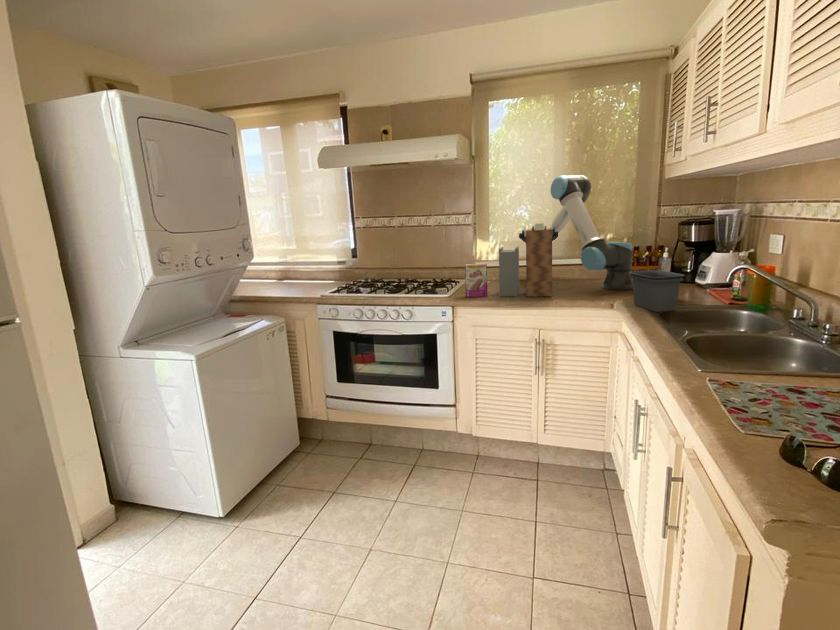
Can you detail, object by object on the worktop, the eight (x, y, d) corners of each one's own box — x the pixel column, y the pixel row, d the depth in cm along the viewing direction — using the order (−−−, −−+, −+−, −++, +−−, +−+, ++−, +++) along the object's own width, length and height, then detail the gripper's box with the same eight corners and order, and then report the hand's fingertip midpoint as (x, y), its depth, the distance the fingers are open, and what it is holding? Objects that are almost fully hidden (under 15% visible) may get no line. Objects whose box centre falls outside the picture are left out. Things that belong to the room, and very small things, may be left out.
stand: (551, 292, 232) (552, 225, 224) (551, 296, 220) (552, 226, 213) (527, 292, 235) (526, 226, 227) (526, 296, 224) (525, 227, 216)
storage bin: (624, 304, 196) (625, 270, 193) (658, 301, 197) (660, 268, 194) (653, 314, 175) (655, 277, 172) (691, 311, 176) (694, 274, 173)
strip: (543, 227, 234) (543, 221, 233) (543, 230, 213) (543, 223, 213) (535, 228, 235) (535, 222, 235) (534, 230, 215) (534, 223, 214)
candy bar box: (465, 297, 231) (464, 265, 227) (465, 295, 236) (464, 264, 232) (488, 296, 230) (487, 264, 226) (487, 295, 235) (486, 263, 231)
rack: (519, 291, 239) (518, 246, 234) (517, 295, 227) (517, 248, 222) (501, 291, 241) (501, 247, 236) (499, 296, 230) (498, 249, 225)
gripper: (562, 251, 251) (563, 233, 232) (516, 252, 258) (513, 235, 239) (562, 238, 254) (563, 220, 234) (516, 240, 260) (513, 222, 241)
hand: (538, 227), depth 236 cm, fingers open, 13 cm apart
